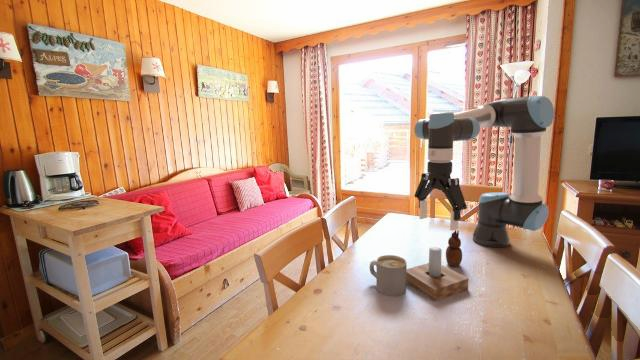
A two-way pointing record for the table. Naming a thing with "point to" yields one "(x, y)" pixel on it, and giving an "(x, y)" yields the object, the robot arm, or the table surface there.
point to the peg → (435, 262)
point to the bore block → (436, 282)
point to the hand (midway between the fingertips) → (437, 223)
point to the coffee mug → (390, 274)
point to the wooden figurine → (454, 250)
